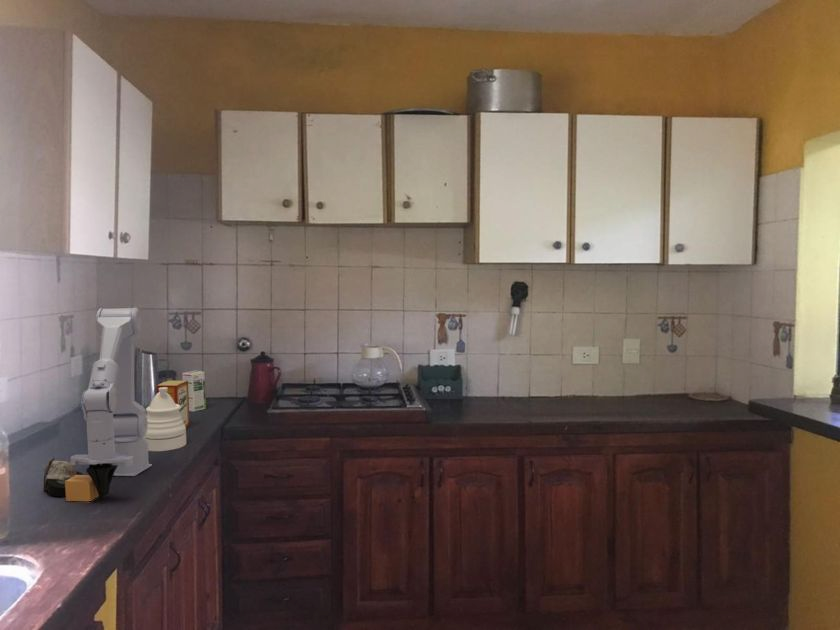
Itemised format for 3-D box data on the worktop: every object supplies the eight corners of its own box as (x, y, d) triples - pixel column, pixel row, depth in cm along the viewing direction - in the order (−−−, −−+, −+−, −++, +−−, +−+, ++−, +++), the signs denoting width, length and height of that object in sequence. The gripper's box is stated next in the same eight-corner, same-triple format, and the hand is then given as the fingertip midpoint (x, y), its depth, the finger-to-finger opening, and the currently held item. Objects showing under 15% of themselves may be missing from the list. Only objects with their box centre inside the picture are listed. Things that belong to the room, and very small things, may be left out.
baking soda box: (170, 425, 231) (169, 379, 230) (189, 425, 231) (187, 379, 229) (158, 432, 222) (156, 384, 220) (178, 432, 221) (176, 384, 220)
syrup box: (193, 412, 252) (192, 373, 250) (183, 410, 255) (182, 372, 254) (206, 409, 256) (205, 371, 255) (196, 407, 260) (194, 369, 258)
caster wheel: (78, 505, 163) (33, 502, 161) (92, 481, 174) (50, 478, 172) (80, 481, 161) (34, 478, 159) (94, 458, 172) (51, 454, 170)
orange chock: (76, 495, 163) (75, 474, 163) (101, 495, 163) (100, 475, 162) (64, 501, 159) (63, 481, 158) (90, 502, 158) (89, 481, 158)
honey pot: (190, 447, 205) (188, 388, 203) (145, 453, 198) (142, 392, 197) (181, 437, 216) (179, 381, 214) (138, 443, 209) (136, 385, 208)
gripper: (61, 442, 156) (64, 499, 157) (120, 443, 154) (123, 501, 155) (79, 434, 163) (82, 489, 164) (137, 435, 161) (139, 491, 162)
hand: (103, 494), depth 160 cm, fingers closed
